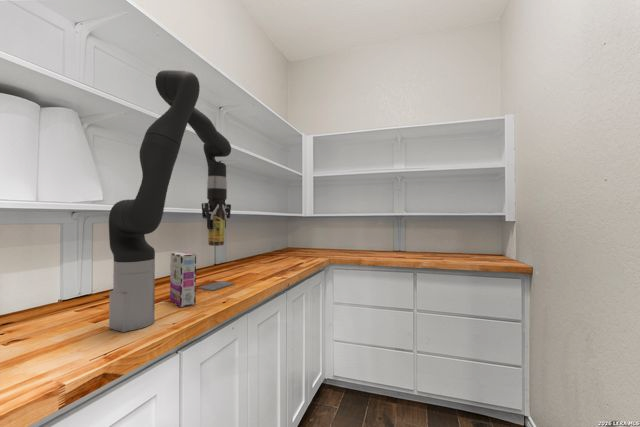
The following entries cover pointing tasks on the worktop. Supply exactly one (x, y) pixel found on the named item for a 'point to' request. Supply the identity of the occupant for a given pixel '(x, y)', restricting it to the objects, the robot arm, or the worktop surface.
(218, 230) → the sauce bottle
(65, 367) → the worktop surface
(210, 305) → the worktop surface
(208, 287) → the rubber mat
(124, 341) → the worktop surface
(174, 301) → the candy bar box
